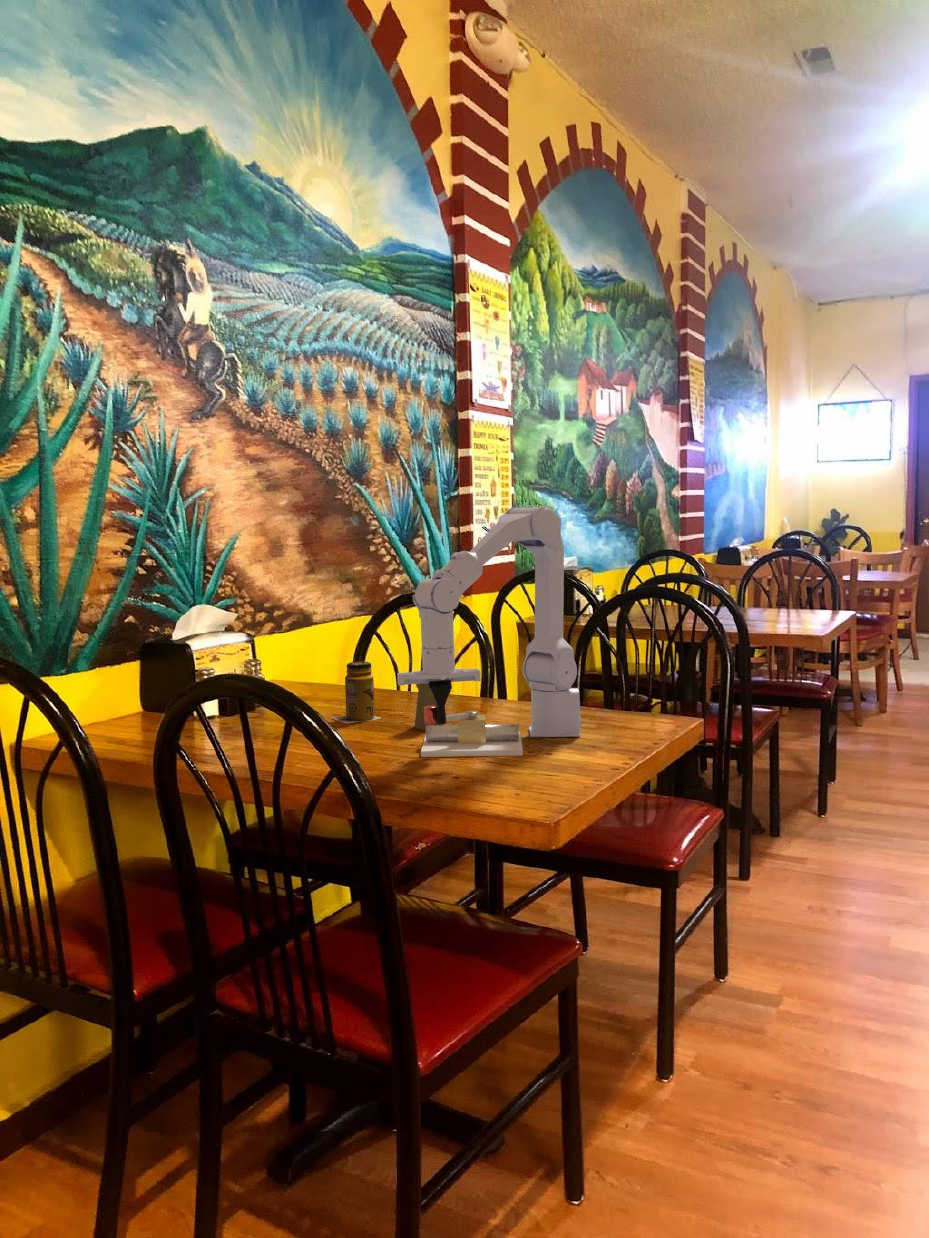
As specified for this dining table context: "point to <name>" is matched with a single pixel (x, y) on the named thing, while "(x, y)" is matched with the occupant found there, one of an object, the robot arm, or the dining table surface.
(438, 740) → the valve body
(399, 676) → the robot arm
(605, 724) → the dining table surface
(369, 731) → the dining table surface
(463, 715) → the valve lever
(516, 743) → the valve board
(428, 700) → the olive tapered post
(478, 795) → the dining table surface
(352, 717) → the condiment
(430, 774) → the dining table surface
